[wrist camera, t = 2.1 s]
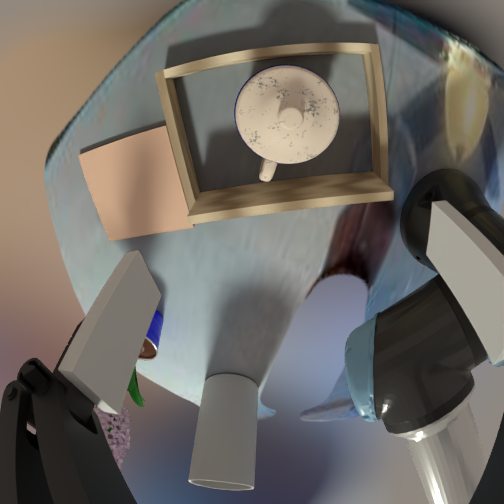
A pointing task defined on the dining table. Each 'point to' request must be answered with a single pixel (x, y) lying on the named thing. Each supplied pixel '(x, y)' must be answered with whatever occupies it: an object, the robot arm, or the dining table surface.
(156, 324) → the hyacinth
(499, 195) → the dining table surface
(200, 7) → the dining table surface
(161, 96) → the frame
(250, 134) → the teacup with lid
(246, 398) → the cylinder vase
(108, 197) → the terracotta tile
